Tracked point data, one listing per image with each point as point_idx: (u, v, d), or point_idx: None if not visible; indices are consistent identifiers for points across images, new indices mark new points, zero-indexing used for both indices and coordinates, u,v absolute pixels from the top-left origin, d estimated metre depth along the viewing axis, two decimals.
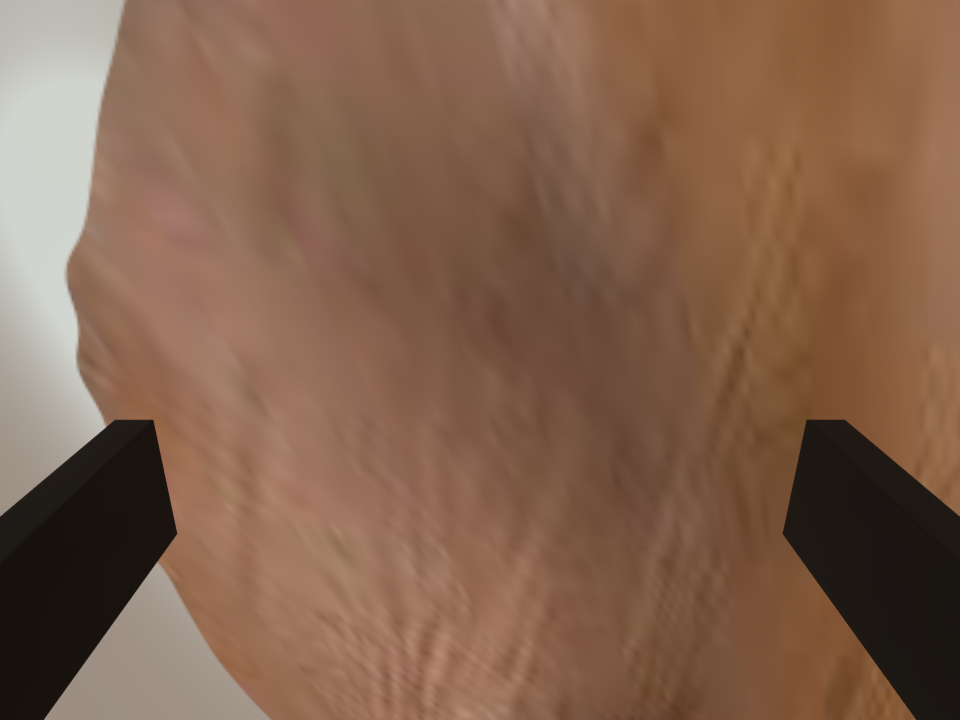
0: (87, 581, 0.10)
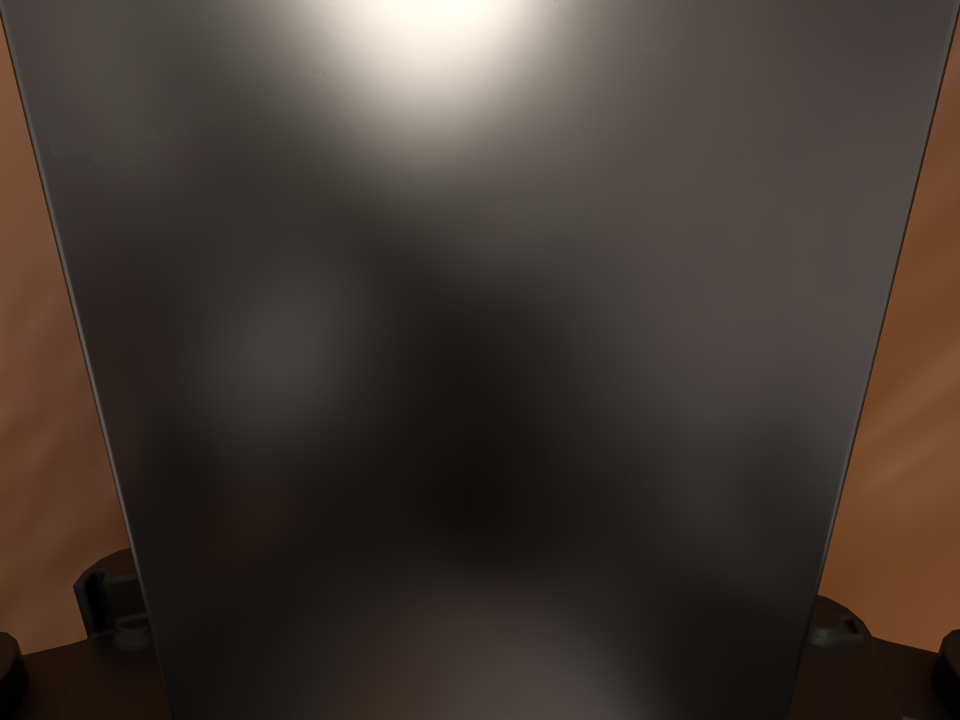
0: None
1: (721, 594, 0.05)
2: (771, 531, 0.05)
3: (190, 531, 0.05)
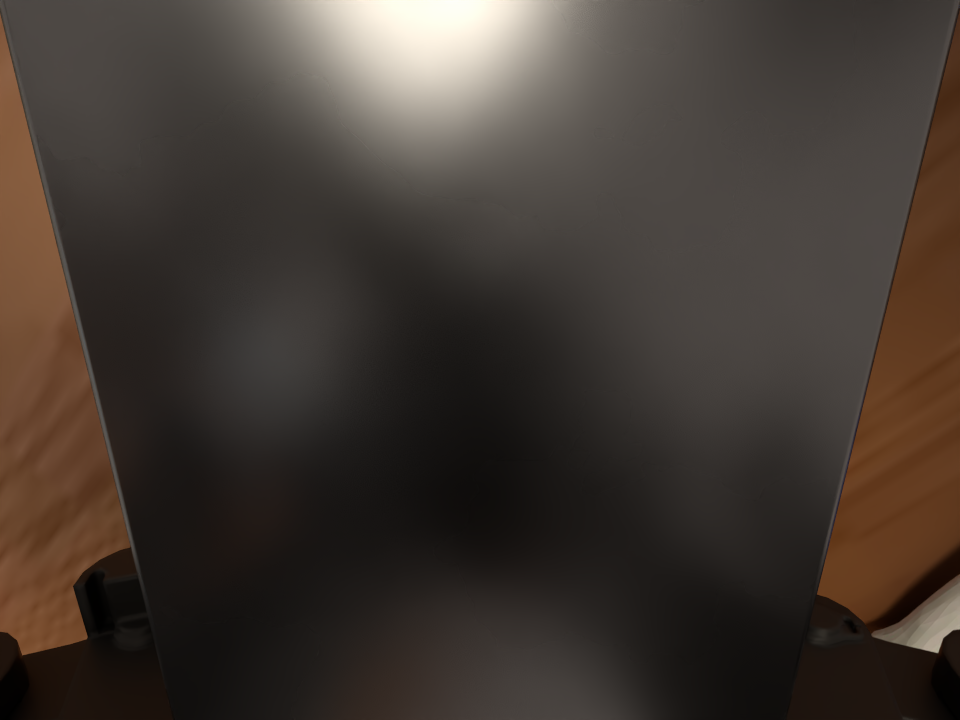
0: None
1: (721, 594, 0.05)
2: (770, 532, 0.05)
3: (191, 532, 0.05)
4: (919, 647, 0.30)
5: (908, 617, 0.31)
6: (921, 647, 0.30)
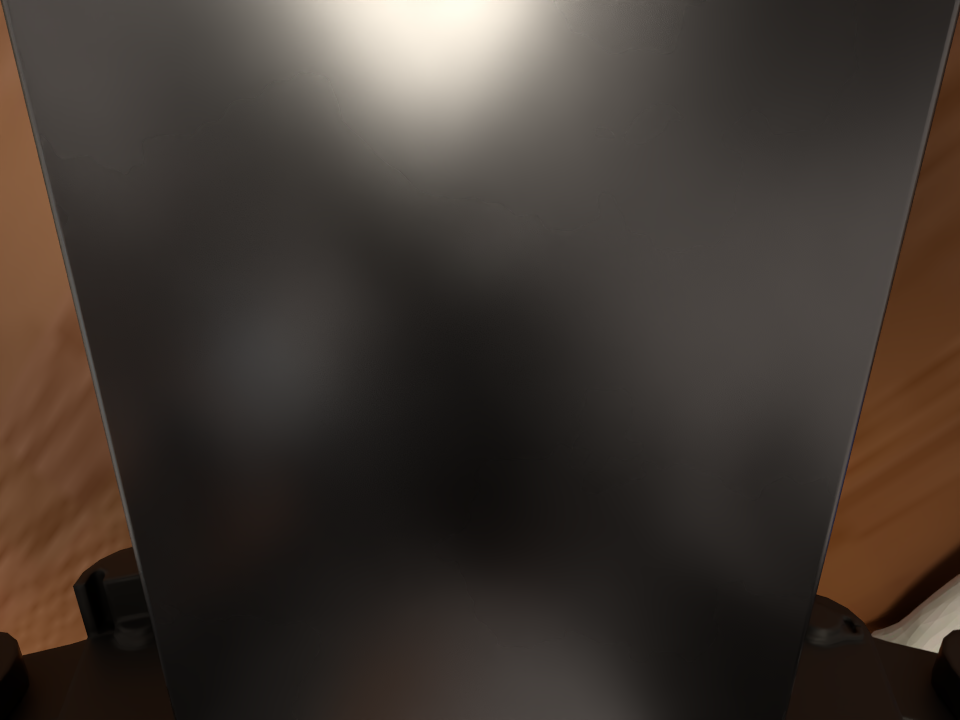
0: None
1: (721, 593, 0.05)
2: (769, 531, 0.05)
3: (192, 530, 0.05)
4: (919, 647, 0.30)
5: (908, 617, 0.31)
6: (921, 647, 0.30)
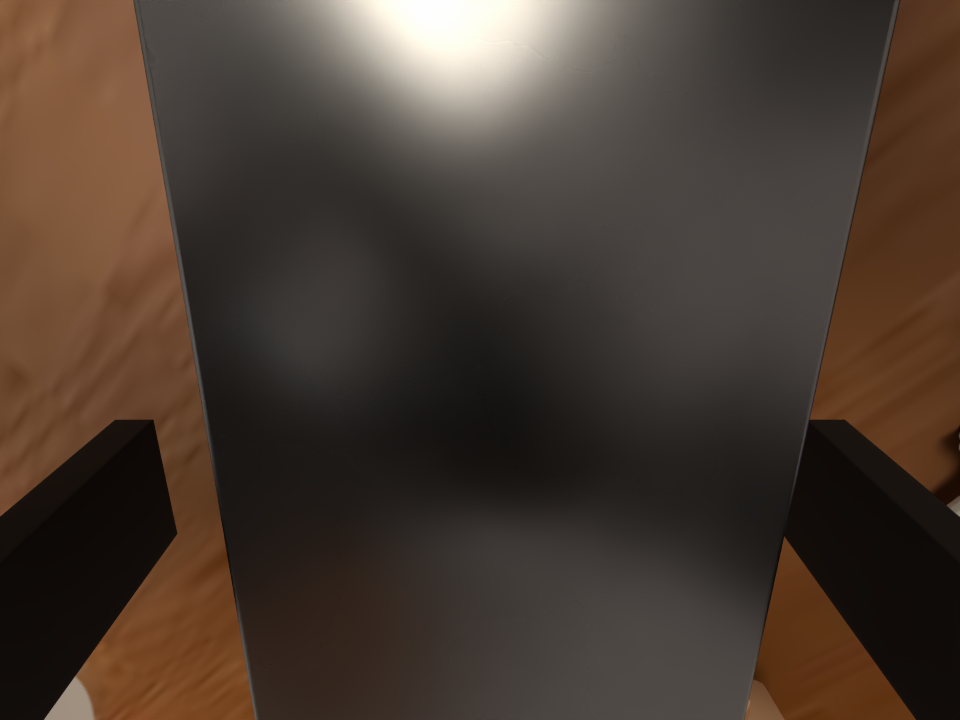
0: (87, 581, 0.10)
1: (721, 428, 0.06)
2: (764, 366, 0.06)
3: (250, 360, 0.06)
4: None
5: None
6: None
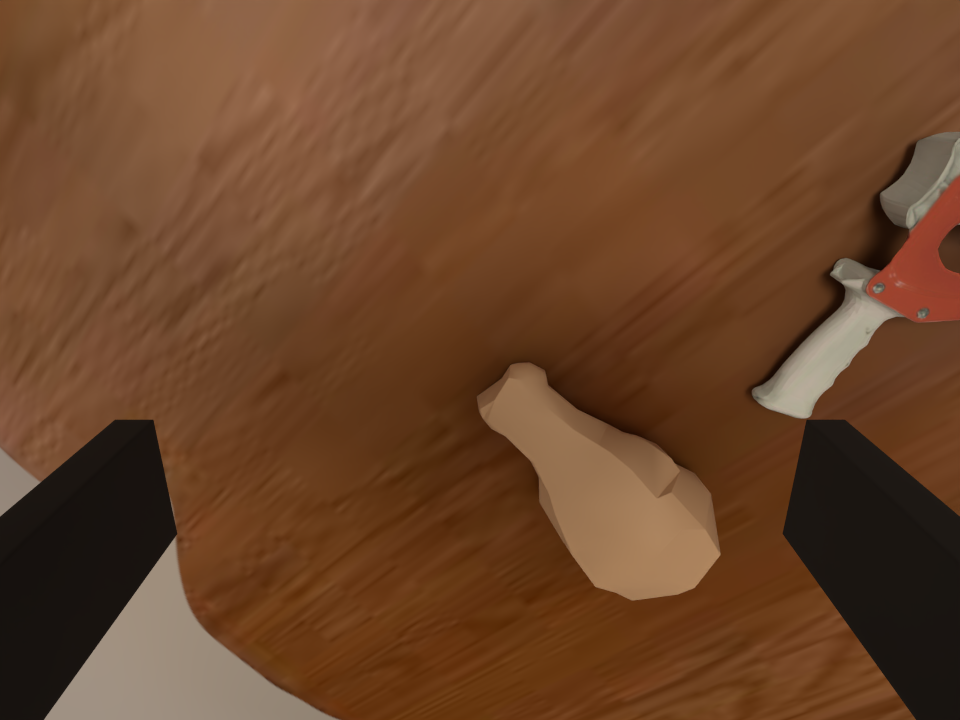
0: (87, 581, 0.10)
1: None
2: None
3: None
4: (781, 386, 0.43)
5: None
6: (782, 386, 0.43)
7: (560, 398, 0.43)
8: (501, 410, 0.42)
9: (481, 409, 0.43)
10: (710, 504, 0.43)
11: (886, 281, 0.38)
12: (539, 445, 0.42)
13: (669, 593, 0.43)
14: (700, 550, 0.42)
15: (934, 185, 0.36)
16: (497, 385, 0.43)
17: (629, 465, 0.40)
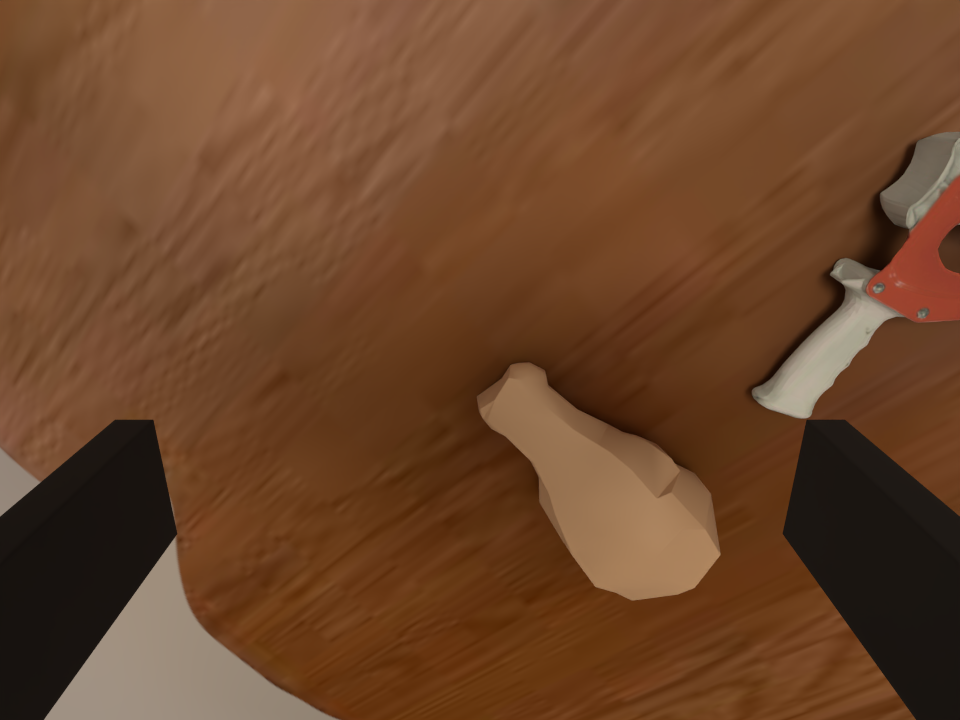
0: (87, 581, 0.10)
1: None
2: None
3: None
4: (781, 386, 0.43)
5: None
6: (782, 386, 0.43)
7: (560, 398, 0.43)
8: (501, 410, 0.42)
9: (481, 409, 0.43)
10: (710, 504, 0.43)
11: (886, 281, 0.38)
12: (539, 445, 0.42)
13: (669, 593, 0.43)
14: (700, 550, 0.42)
15: (934, 185, 0.36)
16: (497, 385, 0.43)
17: (629, 465, 0.40)
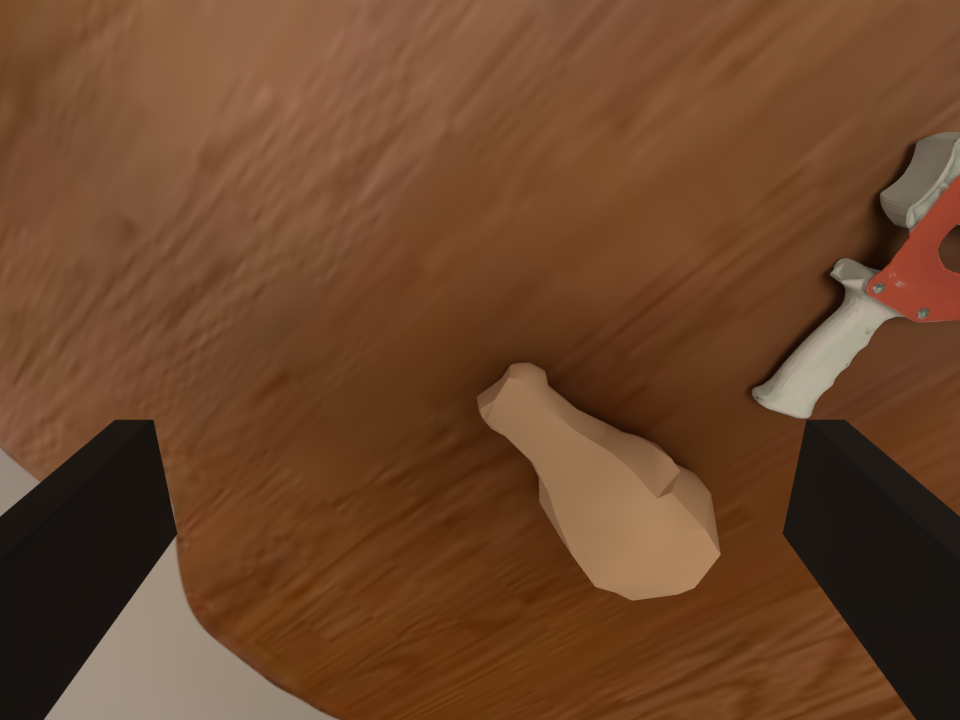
0: (87, 581, 0.10)
1: None
2: None
3: None
4: (781, 386, 0.43)
5: None
6: (782, 386, 0.43)
7: (560, 398, 0.43)
8: (501, 410, 0.42)
9: (481, 409, 0.43)
10: (710, 504, 0.43)
11: (886, 281, 0.38)
12: (539, 445, 0.42)
13: (669, 593, 0.43)
14: (700, 550, 0.42)
15: (934, 185, 0.36)
16: (497, 385, 0.43)
17: (629, 465, 0.40)
